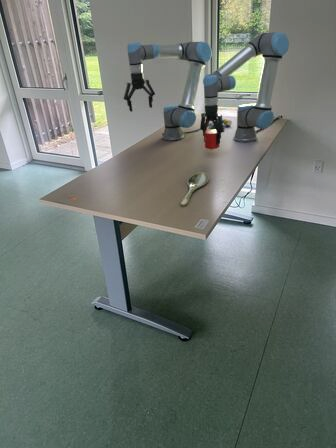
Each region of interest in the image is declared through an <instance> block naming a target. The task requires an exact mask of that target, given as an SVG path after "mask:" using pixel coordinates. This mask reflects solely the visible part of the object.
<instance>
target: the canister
mask: <svg viewBox="0 0 336 448" xmlns="http://www.w3.org/2000/svg"><path fill="white" fill-rule="evenodd" d="M204 133H205V142H204V149H206V150H215V149H216V150H217V149H218V148H219V147H220V144H218V145H217V144H216V134H217V130H216V129H214V128H213V129H212V128H209V129H207V130H206V131H205V132H204Z"/></svg>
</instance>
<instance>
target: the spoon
mask: <svg viewBox="0 0 336 448" xmlns="http://www.w3.org/2000/svg"><path fill="white" fill-rule="evenodd" d="M209 180H210V176H209V174H208V173H206V172H203V171H200V172H199V171H198V172H195V173H194V174H192V175H191V176H189V178H188V180H187V185H188V187H189V188H188V189H189V190H188V192H187V193H186V195H185V196H184V197H183V198H182V200H181V202H180V206H183V207H185V206H187V205H188V203H189V201H190V199H191V197H192V195H193V193H194V191H196V190H197V189H199V188H201V187H203V186H205V185H206V184H207V183H208V182H209Z"/></svg>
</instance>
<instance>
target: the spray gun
mask: <svg viewBox="0 0 336 448" xmlns="http://www.w3.org/2000/svg"><path fill="white" fill-rule="evenodd" d="M217 120H218V119H217ZM222 123H223V128H224V129H225V128H226V126H227V127H231V126H232V124H233V122H232V120H229V119H227V118H226V119H224V118H222ZM209 124H210V123H209ZM209 129H216V128H215V125H214V123H213V122H211V124H210V125H209Z"/></svg>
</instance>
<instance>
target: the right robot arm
mask: <svg viewBox="0 0 336 448" xmlns="http://www.w3.org/2000/svg"><path fill="white" fill-rule="evenodd" d="M289 47H290V40H289V37H288V35H287V34H286V33H284V32H279V31H277V32H262V33H260V34H258V35H255V36H254V37H253V38H252V39H250V40H249V41H248V42H246V43H245V44H244V47H243V48H242V49H240V50H239V51H238V52H237V53H236V54H234V55H233V56H232V57H231V58H229V59H228V60H227V61H226V62H224V63H223V64H222V65H221V66H220V67H218V68H217V69H216V70H215V71H214V72H212V73H209V74H206V75H204V77H203V79H202V84H203V92H204V94H203V95H204V112H203V113H201V114H200V115H201V116H200V117H201V119H200V125H199V129H200V130H201V131H202V136H203V142H204V143H205V133H204V132H205V131H206V130H208V127H209V125H208V124H210V122H211V123H214V125H215V128H216V130H217V134H216V144H217V145H218V144H219V145H220V144H221V139H222V133H224V132H225V128H223V125H224V123H222V119H223V115H222V114H219V113H218V111H219V105H218V103H219V96H218V95H219V93H221V92H227V91H231V90H234V89H235V88H236V84H237V80H236V78H235V76H233V75H232V74H234V73H235V72H236V71H238V70H239V69H240V68H241V67H243V66H244V65H245V64H246V63H247V62H249V61H250V60H251V59H252V60H253V59H255V58H256V57H257V56H261V55H262V56H261V58H262V60H263V62H262V64H263V65H262V70H261V75H260V79H259V80H260V81H259V85H258V91H257V97H256V102H255V103H246V104H245V103H244V104H241V105H238V106H237V110H236V111H237V112H236V115H237V116H236V130H235V133H234V135H233V140H234V141H236V142H240V143H249V142H254V141H256V140H257V132H259V131H261V130H266V129H267V128H269V127H270V126H271V125H272V124H273V122H274V121H276V120H277V119H279V118H280V117H281V118H283V116H282V115H281V116H280V115H278V116H277V117H275V115H274V112H273V111H272V109H273V107H272V105H271V102H272V97H273V91H274V86H275V83H276V82H275V81H276V77H277V72H278V68H279V67H278V66H279V63H280V62H281V61H282V60H283V56H284V55H286V53H287V52H288V51H289ZM217 119H218V120H217ZM255 128H257V130H256V129H255ZM200 130H199V131H200Z"/></svg>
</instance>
